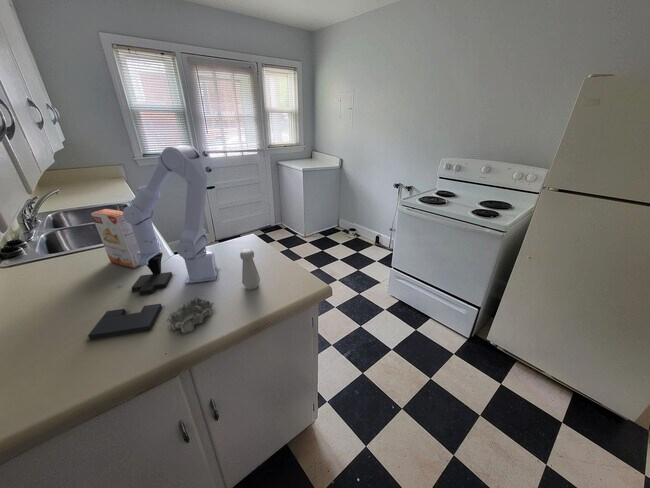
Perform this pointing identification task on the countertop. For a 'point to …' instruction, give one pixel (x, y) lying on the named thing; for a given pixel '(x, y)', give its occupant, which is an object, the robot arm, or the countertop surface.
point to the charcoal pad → (125, 322)
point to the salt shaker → (249, 270)
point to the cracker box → (117, 237)
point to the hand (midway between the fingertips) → (157, 273)
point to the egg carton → (190, 314)
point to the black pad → (151, 282)
